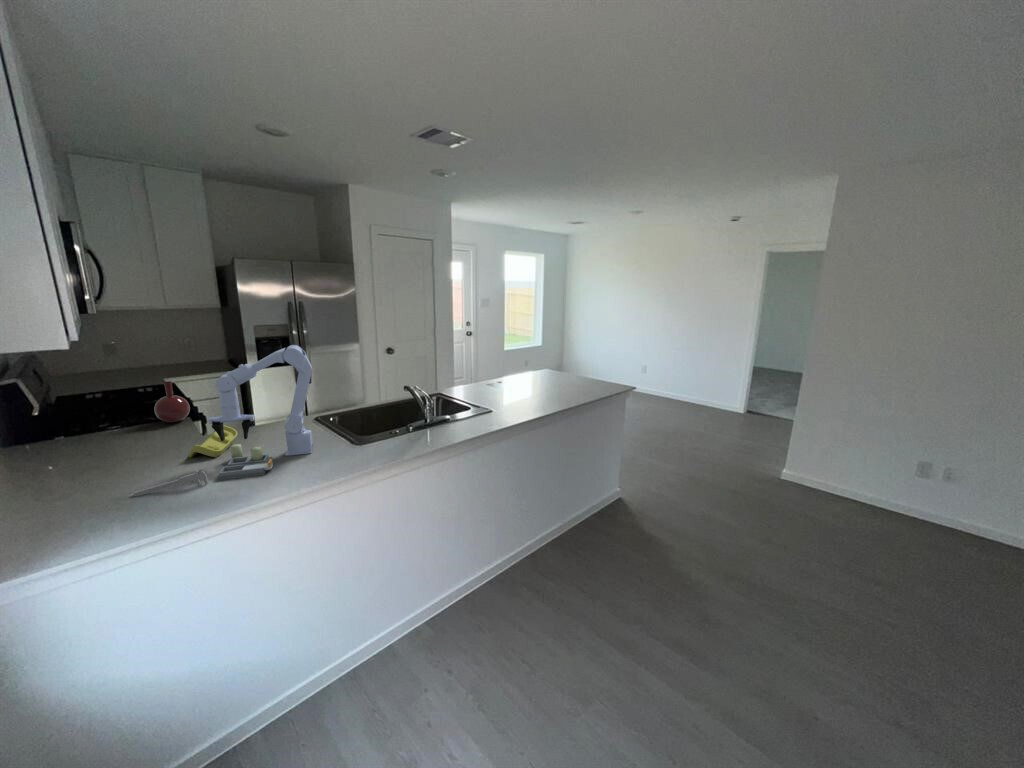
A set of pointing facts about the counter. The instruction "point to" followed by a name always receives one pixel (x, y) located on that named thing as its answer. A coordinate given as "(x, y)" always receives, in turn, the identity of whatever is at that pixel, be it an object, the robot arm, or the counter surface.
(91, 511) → the counter surface
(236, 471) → the housing
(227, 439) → the plastic component
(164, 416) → the round-bottom flask
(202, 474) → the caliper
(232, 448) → the peg
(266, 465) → the lid
